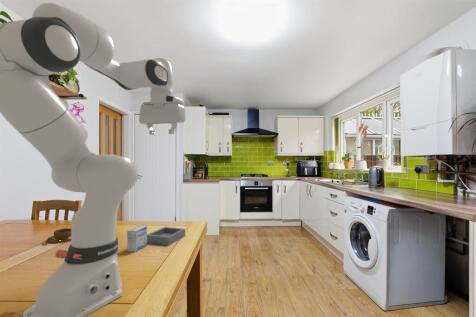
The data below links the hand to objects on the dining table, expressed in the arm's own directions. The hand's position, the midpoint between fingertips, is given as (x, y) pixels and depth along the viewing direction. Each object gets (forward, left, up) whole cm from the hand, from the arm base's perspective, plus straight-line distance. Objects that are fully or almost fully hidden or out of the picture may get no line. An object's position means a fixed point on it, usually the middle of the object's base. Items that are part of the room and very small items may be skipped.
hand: (161, 134), depth 97 cm
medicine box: (+1, +13, -49) cm, 51 cm away
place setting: (-2, +51, -50) cm, 71 cm away
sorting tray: (+15, +8, -49) cm, 52 cm away
